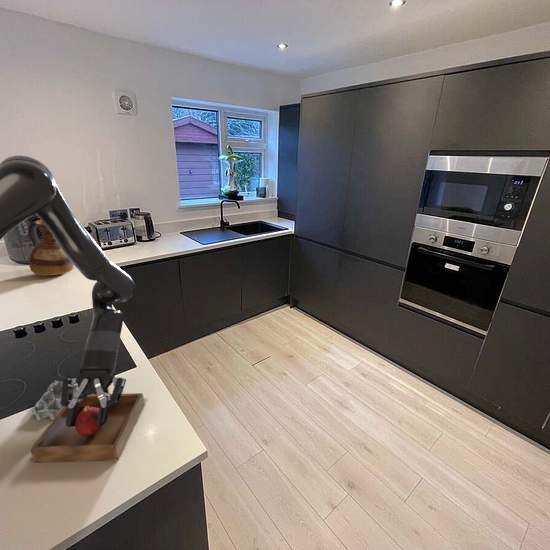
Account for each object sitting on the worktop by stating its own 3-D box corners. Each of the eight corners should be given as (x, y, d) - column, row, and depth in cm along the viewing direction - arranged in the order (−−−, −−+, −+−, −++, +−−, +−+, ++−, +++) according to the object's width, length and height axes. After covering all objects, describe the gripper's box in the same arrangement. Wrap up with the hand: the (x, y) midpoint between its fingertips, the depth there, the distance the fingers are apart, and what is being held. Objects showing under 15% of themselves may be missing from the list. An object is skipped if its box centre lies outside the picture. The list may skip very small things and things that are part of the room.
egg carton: (59, 389, 82) (55, 378, 80) (85, 390, 82) (82, 378, 80) (29, 421, 72) (24, 408, 70) (59, 421, 72) (54, 409, 70)
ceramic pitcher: (59, 280, 154) (44, 224, 143) (22, 279, 154) (4, 223, 143) (83, 267, 172) (71, 217, 161) (50, 266, 172) (35, 216, 161)
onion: (112, 430, 70) (105, 405, 67) (86, 448, 65) (78, 422, 62) (99, 418, 73) (93, 394, 70) (74, 435, 68) (66, 409, 65)
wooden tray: (35, 463, 62) (29, 450, 61) (77, 405, 77) (73, 394, 75) (118, 460, 63) (115, 447, 62) (144, 404, 78) (142, 393, 76)
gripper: (62, 349, 68) (41, 428, 62) (124, 348, 69) (110, 426, 63) (80, 353, 75) (63, 425, 69) (136, 352, 76) (124, 424, 69)
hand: (85, 425), depth 66 cm, fingers closed on onion, 5 cm apart
